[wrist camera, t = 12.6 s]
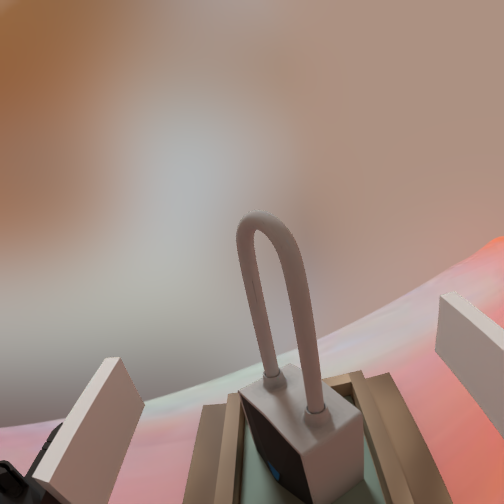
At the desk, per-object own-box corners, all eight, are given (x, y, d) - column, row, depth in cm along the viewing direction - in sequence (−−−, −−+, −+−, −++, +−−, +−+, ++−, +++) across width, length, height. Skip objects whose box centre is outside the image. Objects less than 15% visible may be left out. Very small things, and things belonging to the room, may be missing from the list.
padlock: (249, 450, 17) (175, 221, 13) (301, 420, 18) (259, 197, 14) (310, 517, 11) (251, 237, 7) (369, 473, 13) (371, 198, 9)
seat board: (179, 566, 9) (158, 555, 8) (207, 414, 22) (197, 392, 22) (452, 524, 8) (468, 507, 7) (388, 383, 21) (389, 357, 20)
